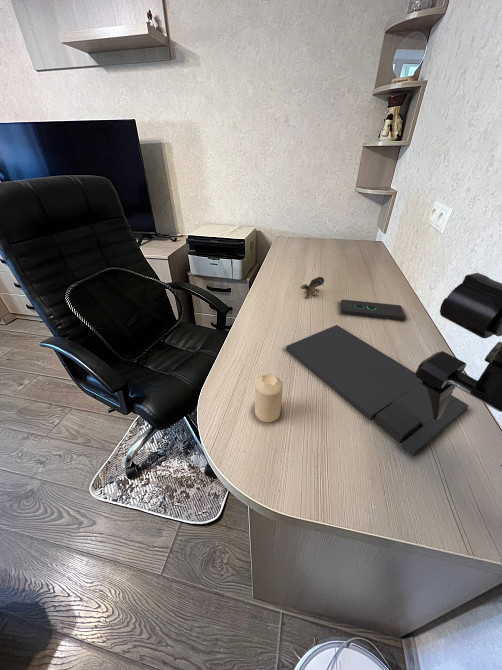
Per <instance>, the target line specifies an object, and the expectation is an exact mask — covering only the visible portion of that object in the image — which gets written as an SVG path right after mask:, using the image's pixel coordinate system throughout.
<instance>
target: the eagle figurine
mask: <svg viewBox="0 0 502 670" xmlns="http://www.w3.org/2000/svg"><path fill="white" fill-rule="evenodd" d="M324 283H325V279H324V277H323V276H318V277H316V278H313V279H311V281H310V282H309V284H306V283H304V284H301V285H300V286H299V288H300V289H301V290H305V291H303V293H304V294H306V297H305V298H306V299H307V298H308V297H310V295H311V294H313V295H315V296H317V291H318V289H316V288H318V287H319V286H320V287H321V286H322V285H324Z"/></svg>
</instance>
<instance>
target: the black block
mask: <svg viewBox="0 0 502 670" xmlns="http://www.w3.org/2000/svg"><path fill="white" fill-rule="evenodd" d="M373 422H374V423H375V424H376V425H377V426H378V427H379V428H380V429H382V430H383V431H384V432H385V433H387V434H388V435H389V436H390V437H392V438H393V440H395V441H396V442H397V443H399V444H400V443H401V442H403V441H405V440H406V439H407V438H409V437H410V436H411V435H412V434H414V433H415V432H416V431H417V430H418V429H419V428H418V426H419V425H420V423H421V421H420V420H419V419H417V418H416V417H415V416H413V415H412V414H410V413H409V412H408V411H406V410H405V409H404V408H402V407H401V406H399V405H398V404H397V403H395V402H394V403H392V404H391V405H389V406H388V407H386V408H385V409H383V410H382V411H380V412H379V413H377V415H376V416H375V417H374V420H373Z"/></svg>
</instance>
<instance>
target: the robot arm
mask: <svg viewBox="0 0 502 670" xmlns="http://www.w3.org/2000/svg"><path fill="white" fill-rule="evenodd" d="M439 314H440V316H441V317H442V318H444V319H446V320H448V321H449V322H451V323H453V324H455V325H457V326H459V327H460V328H463V329H464V330H466V331H468V332H470V333H471V334H474V335H476V336H477V337H479V338H481V339H488V338H491V337H492V336H496V337H501V336H502V282H500V281H497V280H494V279H492V278H490V277H489V276H487V275H485V274H482V273H480V272H474V273H469V274H466V275H465V276H464V278H463V280H462V282H461V283H460V284H458V285H457V286H456V287H455V288H453V290H451V292H450V293H449V294H448V295H447V297H445V298H444V299H443V300H442V303H441V305H440V308H439ZM484 362H486V363H487V365H486V367H485V369H484V370H483V372H482V373H481V375H479V378H478V379H475V378H473V377H471V376H470V375H469V374H466V373H464V370H465V369H466V367H467V363H466V362H465V361H463V360H461V359H459V358H457V357H455V356H453V355H451V354H450V353H447V352H445V351H444V350H440V351H437V352H435V353H434V354H432V355H430V356H429V357H427V358H424V360H422V361H421V362H420V364H419V365H418V367H417V368H416V371H415V374H416V377H417V378H419V379H420V380H422V385H423V386H424V387H426V388H427V391H428V394H429V397H430V400H431V405H432V411H433V417H434V419H435V420H438V419H439V418H440V417H441V415H442V414H443V412H444V411H445V408H446V406H447V404H448V401H449V399H450V397H451V395H452V394H453V393H454V391H455V389H456V388H457V389H459V390H461V391H463V392H464V393H466V394H468V395H470V396H471V397H473V398H474V399H476V400H478V401H480V402H481V403H483V404H485V405H487V406H488V407H490V408H491V409H493V410H495V411H497V412H499V413H502V341H498V342H497V343H496V344H495V345H494V346H493V347H492V348H491V350H490V351H489V352H488V353H487V355H486V356H485V358H484ZM452 396H453V395H452ZM500 467H502V464H501V465H500Z"/></svg>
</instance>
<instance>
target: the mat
mask: <svg viewBox="0 0 502 670" xmlns="http://www.w3.org/2000/svg"><path fill="white" fill-rule="evenodd" d="M285 346H286V347H285V351H286V352H287V353H289V355H291V356H292V357H293V358H295V359H296V360H297V361H298V362H299V363H301V364H302V365H303V366H305V367H306V368H307V369H308V370H309V371H310V372H312V373H313V374H314V375H315V376H316V377H318V378H319V379H320V380H321V381H322V382H324V383H325V384H326V385H327V386H328V387H330V388H331V389H332V390H333V391H334V392H335V393H337V394H338V395H339V396H340V397H342V398H343V399H344V400H345V401H346V402H348V404H350V405H351V406H352V407H353V408H355V409H356V410H357V411H358V412H359V413H361V414H362V415H363V416H364V417H366V418H367V419H368V420H369V421H372V419H375V417H376V415H377V413H379V412H380V411H382V410H383V409H385V408H386V407H388V406H389V405H391V404H392V403H394V402H395V403H397V404H398V405H399V406H401V407H402V408H404V409H405V410H406V411H408V412H409V413H410V414H412V415H413V416H415V417H416V418H417V419H419V420H420V421H421V423H420V425H419V426H418V428H417V430H415V431H414V432H413V433H412V434H410V435H409V436H408V437H407V438H405V439H404V440H403V441H402V444H401V445H400V447H401V448H402V449H404V450H405V451H406V452H407V453H409V454H410V455H411V456H412V457H413V456H414V455H416V454H417V453H418V452H419V451H420V450H422V449H423V448H424V447H425V446H426V445H428V444H429V443H430V442H431V441H432V440H434V438H436V437H437V436H438V435H439V434H440V433H441V432H443V431H444V430H445V429H446V428H447V427H448V426H450V425H451V424H452V423H453V422H455V420H456V419H459V417H460V416H461V415H463V413H465V412H466V411H467V409H468V408H469V406H470V405H469V404H467V403H465V402H464V401H462V400H461V399H459V398H457V397H455V396H454V395H451V397H450V399H449V401H448V404H447V406H446V408H445V411H444V412H443V414H442V415H441V417H440V418H439V419H438V420H435V419H434V417H433V411H432V405H431V400H430V397H429V394H428V391H427V388H426V387H424V386H423V385H422V380H420V379H419V378H417V377H416V374H415V373H416V371H413V370H411V369H410V368H408V367H406V366H405V365H403V364H402V363H400V362H399V361H397V360H395V359H394V358H392V357H391V356H389V355H387V354H386V353H384V352H382V351H380V350H379V349H378V348H375V347H374V346H372V345H370V344H369V343H367V342H366V341H364V340H362V339H361V338H359V337H357V336H356V335H354V334H353V333H351V332H349V331H348V330H346V329H345V328H343V327H341V326H339V325H338V324H335V325H333V326H331V327H328V328H326V329H323V330H321V331H319V332H316V333H314V334H311V335H309V336H307V337H304V338H301V339H299V340H297V341H295V342H293V343H290V344H287V345H285Z"/></svg>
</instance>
